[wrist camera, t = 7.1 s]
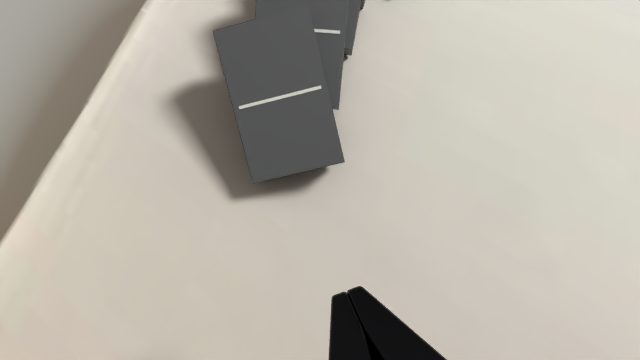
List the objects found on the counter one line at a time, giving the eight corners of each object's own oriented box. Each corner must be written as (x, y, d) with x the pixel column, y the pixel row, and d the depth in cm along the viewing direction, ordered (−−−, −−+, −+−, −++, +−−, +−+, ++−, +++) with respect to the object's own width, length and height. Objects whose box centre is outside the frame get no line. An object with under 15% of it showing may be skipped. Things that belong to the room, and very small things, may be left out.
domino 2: (344, 162, 17) (308, 4, 16) (253, 183, 18) (212, 30, 17) (343, 159, 19) (311, 16, 18) (260, 179, 19) (224, 40, 19)
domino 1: (338, 107, 19) (353, -48, 17) (250, 100, 19) (259, -54, 18) (338, 109, 20) (352, -33, 19) (257, 102, 21) (265, -38, 19)
